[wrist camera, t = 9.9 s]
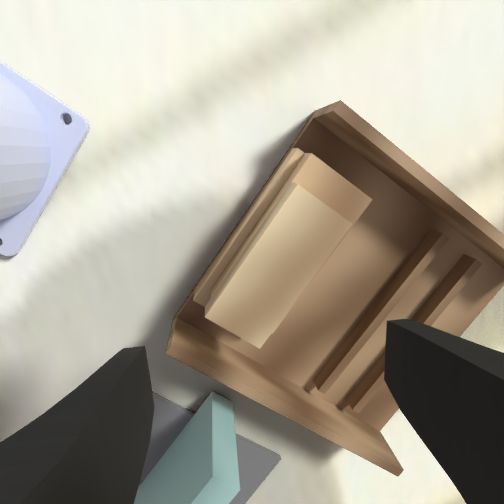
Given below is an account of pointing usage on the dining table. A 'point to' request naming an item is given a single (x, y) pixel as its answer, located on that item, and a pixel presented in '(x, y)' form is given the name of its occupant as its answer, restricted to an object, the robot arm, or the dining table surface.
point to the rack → (336, 281)
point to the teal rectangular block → (197, 461)
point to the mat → (248, 453)
